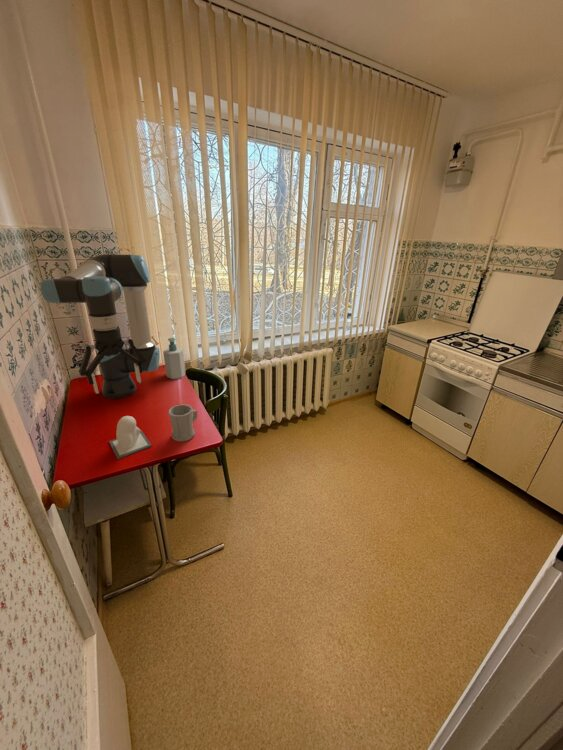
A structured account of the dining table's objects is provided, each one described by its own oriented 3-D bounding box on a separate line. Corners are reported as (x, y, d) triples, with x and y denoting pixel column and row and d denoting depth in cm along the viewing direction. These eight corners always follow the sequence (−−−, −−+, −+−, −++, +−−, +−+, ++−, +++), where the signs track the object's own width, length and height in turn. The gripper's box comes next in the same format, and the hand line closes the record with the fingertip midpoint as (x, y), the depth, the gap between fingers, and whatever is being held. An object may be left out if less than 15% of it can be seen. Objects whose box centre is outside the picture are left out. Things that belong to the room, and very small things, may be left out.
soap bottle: (167, 380, 166) (162, 342, 156) (165, 373, 173) (160, 337, 164) (186, 377, 170) (182, 340, 160) (184, 371, 177) (180, 335, 168)
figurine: (132, 450, 111) (126, 423, 106) (114, 447, 112) (107, 420, 107) (144, 439, 117) (139, 413, 112) (126, 436, 119) (121, 410, 114)
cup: (177, 426, 127) (174, 401, 122) (199, 427, 127) (197, 402, 122) (168, 441, 118) (164, 415, 113) (191, 442, 118) (188, 416, 113)
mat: (109, 442, 116) (109, 441, 116) (141, 431, 123) (141, 430, 123) (117, 459, 108) (117, 458, 107) (151, 446, 115) (151, 445, 114)
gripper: (60, 337, 86) (79, 401, 95) (150, 324, 101) (158, 381, 110) (57, 330, 91) (75, 392, 100) (142, 319, 106) (151, 373, 115)
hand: (118, 386), depth 105 cm, fingers open, 13 cm apart
